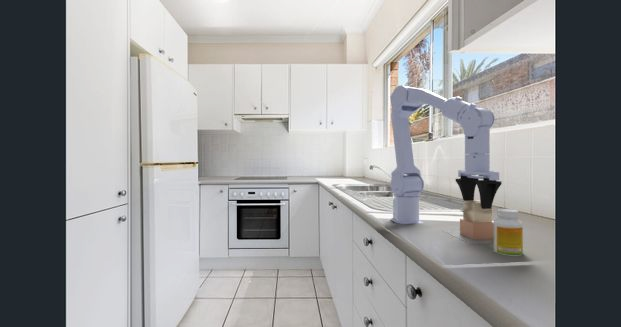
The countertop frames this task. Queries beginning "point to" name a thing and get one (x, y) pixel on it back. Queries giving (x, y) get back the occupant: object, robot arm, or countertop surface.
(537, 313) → the countertop surface
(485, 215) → the birch block
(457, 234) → the baseplate
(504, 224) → the supplement bottle
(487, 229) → the base block
